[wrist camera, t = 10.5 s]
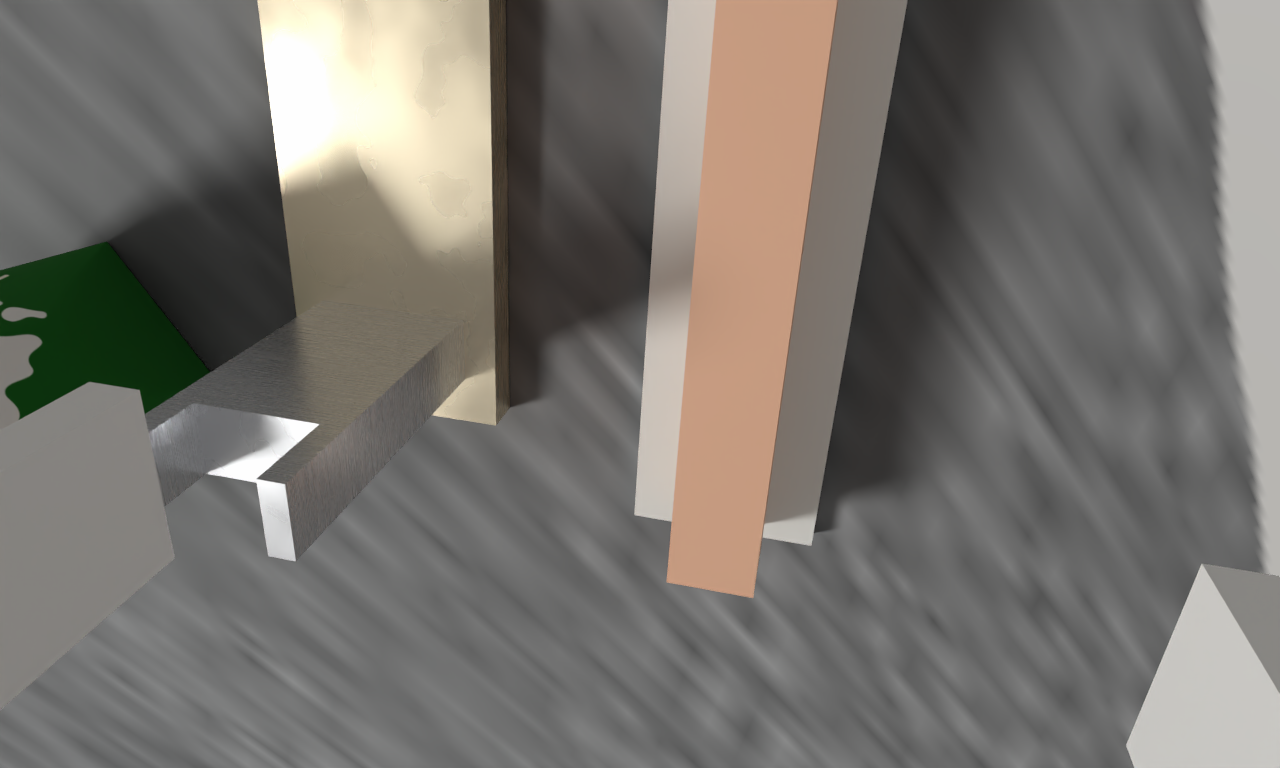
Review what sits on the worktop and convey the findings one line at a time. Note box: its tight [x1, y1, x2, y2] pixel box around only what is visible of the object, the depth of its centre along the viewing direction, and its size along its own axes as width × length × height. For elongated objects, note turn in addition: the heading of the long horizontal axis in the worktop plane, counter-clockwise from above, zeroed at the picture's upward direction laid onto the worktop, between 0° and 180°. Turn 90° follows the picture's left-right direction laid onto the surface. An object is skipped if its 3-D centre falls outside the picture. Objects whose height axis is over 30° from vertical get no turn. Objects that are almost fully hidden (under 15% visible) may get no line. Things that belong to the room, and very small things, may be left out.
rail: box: [667, 0, 839, 598], centre depth 27 cm, size 26×3×4 cm, turn 177°
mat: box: [634, 0, 907, 546], centre depth 29 cm, size 27×7×1 cm, turn 177°
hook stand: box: [145, 0, 510, 561], centre depth 25 cm, size 24×8×13 cm, turn 177°
